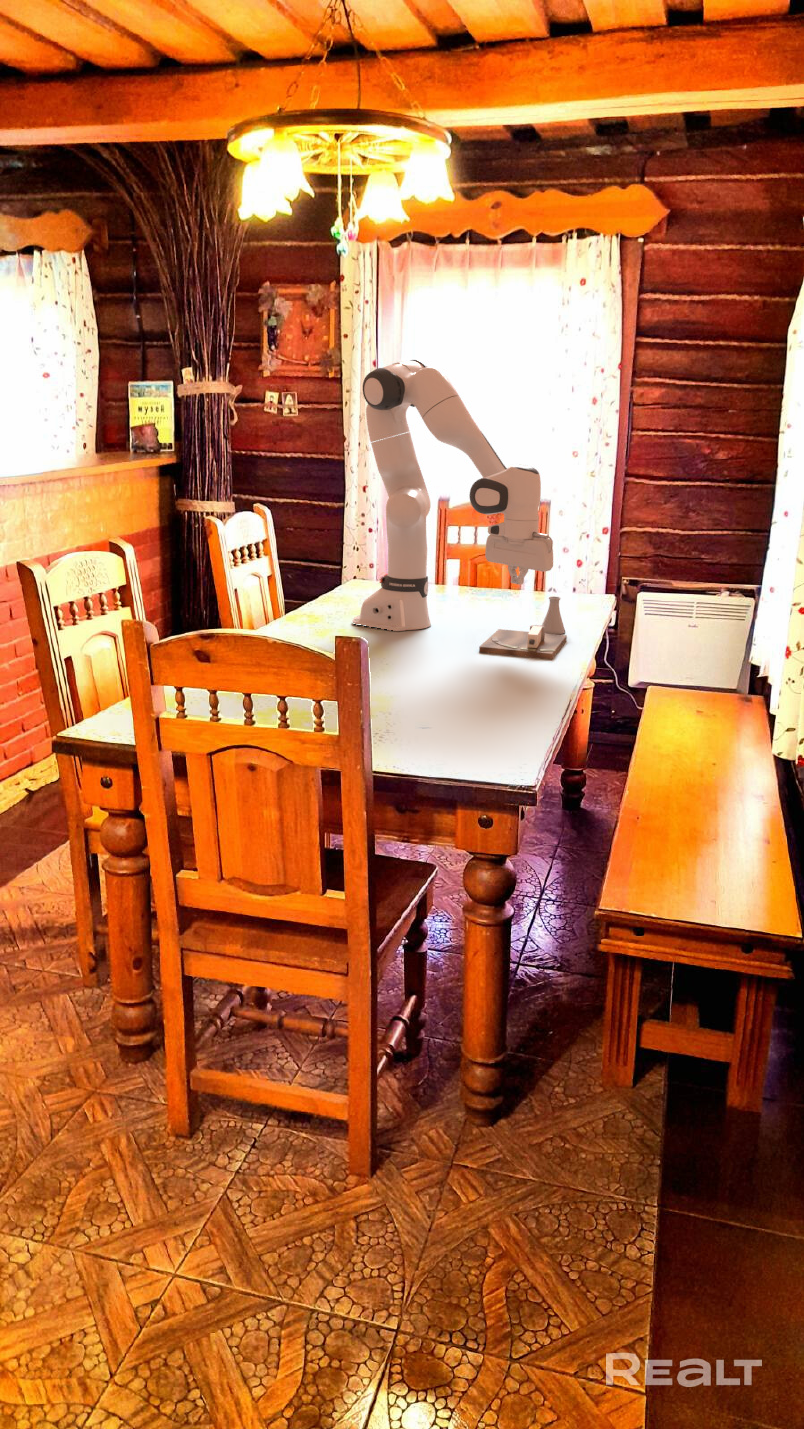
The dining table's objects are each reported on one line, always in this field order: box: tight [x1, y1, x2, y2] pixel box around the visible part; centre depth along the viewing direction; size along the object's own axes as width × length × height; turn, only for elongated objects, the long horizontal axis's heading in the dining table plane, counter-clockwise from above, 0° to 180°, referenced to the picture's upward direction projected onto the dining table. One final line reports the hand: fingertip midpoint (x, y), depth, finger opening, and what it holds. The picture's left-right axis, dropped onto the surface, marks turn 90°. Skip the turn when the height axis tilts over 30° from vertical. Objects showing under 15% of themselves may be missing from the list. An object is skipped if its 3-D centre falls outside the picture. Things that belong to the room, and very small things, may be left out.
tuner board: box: [478, 628, 568, 660], centre depth 277 cm, size 19×22×2 cm
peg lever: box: [527, 624, 545, 648], centre depth 272 cm, size 14×4×4 cm, turn 166°
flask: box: [541, 595, 566, 635], centre depth 292 cm, size 7×7×10 cm
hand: (517, 583), depth 270 cm, fingers closed
